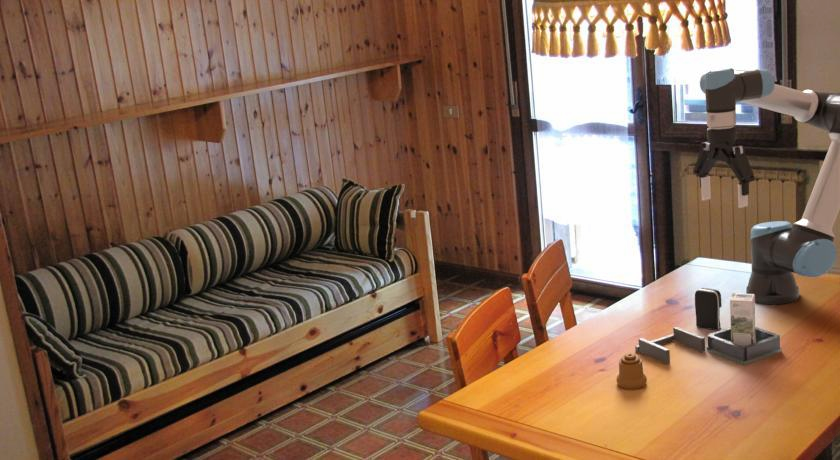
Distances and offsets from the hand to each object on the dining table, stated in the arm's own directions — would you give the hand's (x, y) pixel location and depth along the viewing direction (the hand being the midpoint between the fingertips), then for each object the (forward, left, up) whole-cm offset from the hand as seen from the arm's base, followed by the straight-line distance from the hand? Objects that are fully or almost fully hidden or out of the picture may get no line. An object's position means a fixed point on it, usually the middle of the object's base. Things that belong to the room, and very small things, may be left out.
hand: (724, 203), depth 255 cm
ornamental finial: (+44, +12, -37) cm, 59 cm away
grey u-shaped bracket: (+23, +3, -37) cm, 43 cm away
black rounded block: (+3, -4, -37) cm, 37 cm away
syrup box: (+9, +15, -36) cm, 40 cm away
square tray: (+9, +15, -37) cm, 40 cm away
